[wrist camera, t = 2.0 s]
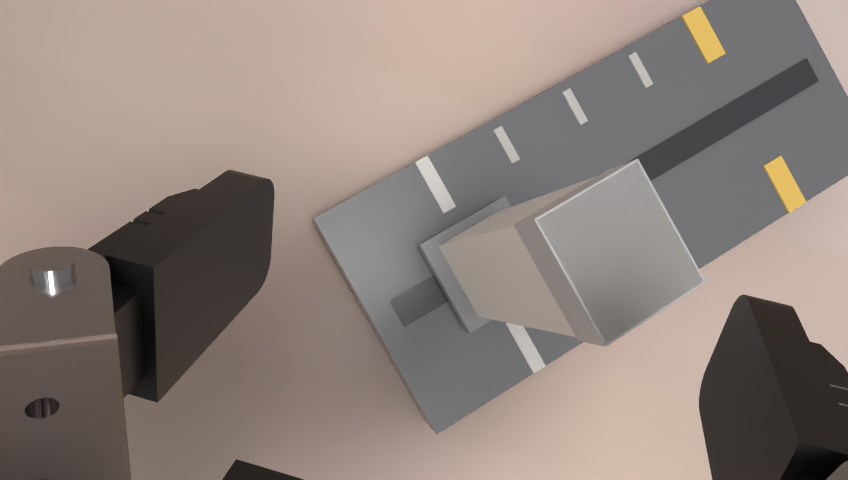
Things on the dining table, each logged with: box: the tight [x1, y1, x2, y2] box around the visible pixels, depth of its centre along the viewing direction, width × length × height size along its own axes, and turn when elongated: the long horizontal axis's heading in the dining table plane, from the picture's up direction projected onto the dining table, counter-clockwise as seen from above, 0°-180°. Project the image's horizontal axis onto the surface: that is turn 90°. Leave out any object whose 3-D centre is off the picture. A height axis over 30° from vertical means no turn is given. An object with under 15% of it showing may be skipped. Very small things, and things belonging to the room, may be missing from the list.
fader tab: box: [417, 159, 706, 346], centre depth 22 cm, size 4×4×13 cm
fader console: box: [313, 0, 848, 434], centre depth 31 cm, size 24×10×3 cm, turn 120°
